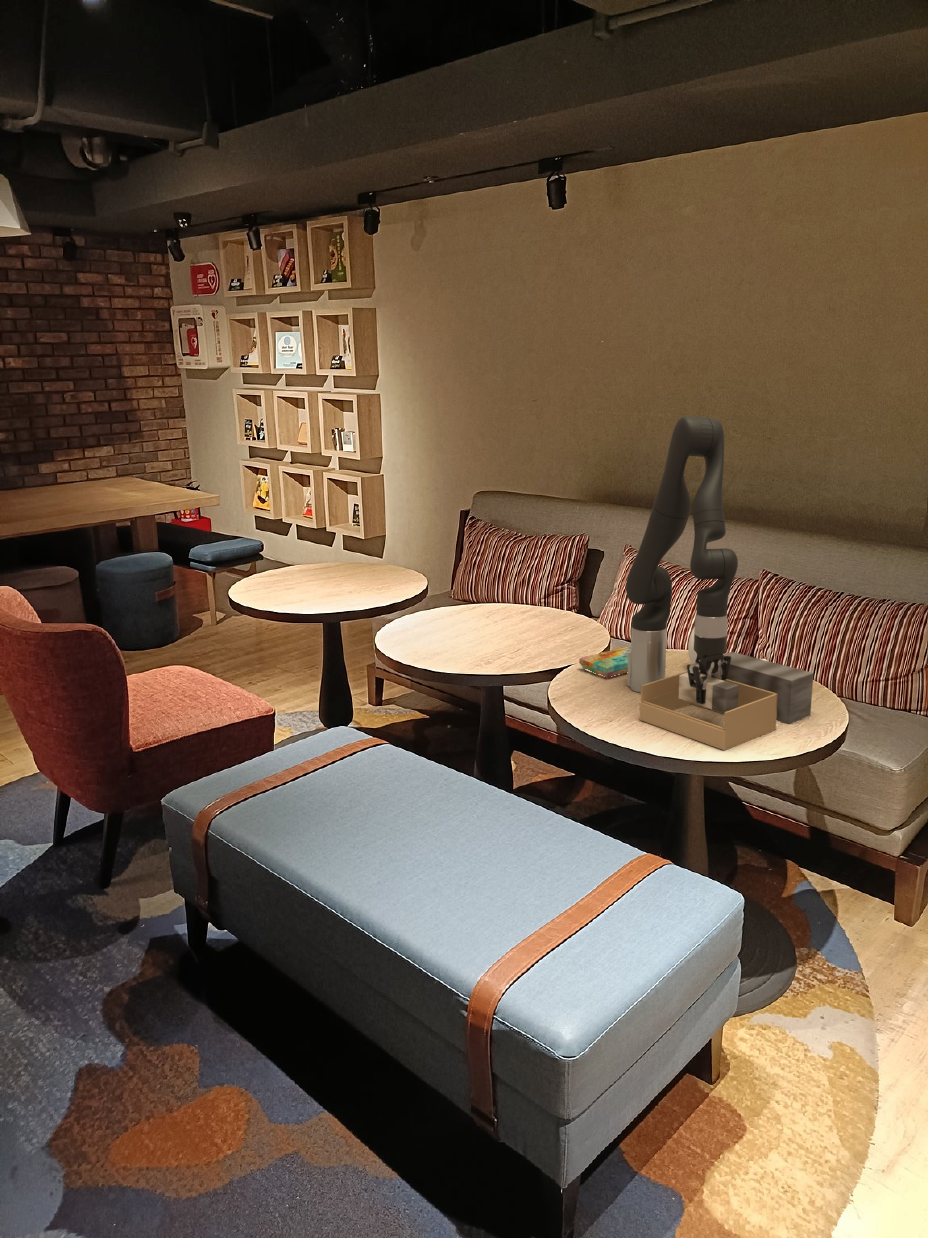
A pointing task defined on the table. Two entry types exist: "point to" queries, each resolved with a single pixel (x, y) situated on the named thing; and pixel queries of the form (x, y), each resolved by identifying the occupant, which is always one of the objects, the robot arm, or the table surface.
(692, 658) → the sauce bottle
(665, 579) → the robot arm
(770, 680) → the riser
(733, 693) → the block
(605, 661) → the puzzle game
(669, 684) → the carton
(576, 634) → the table surface
